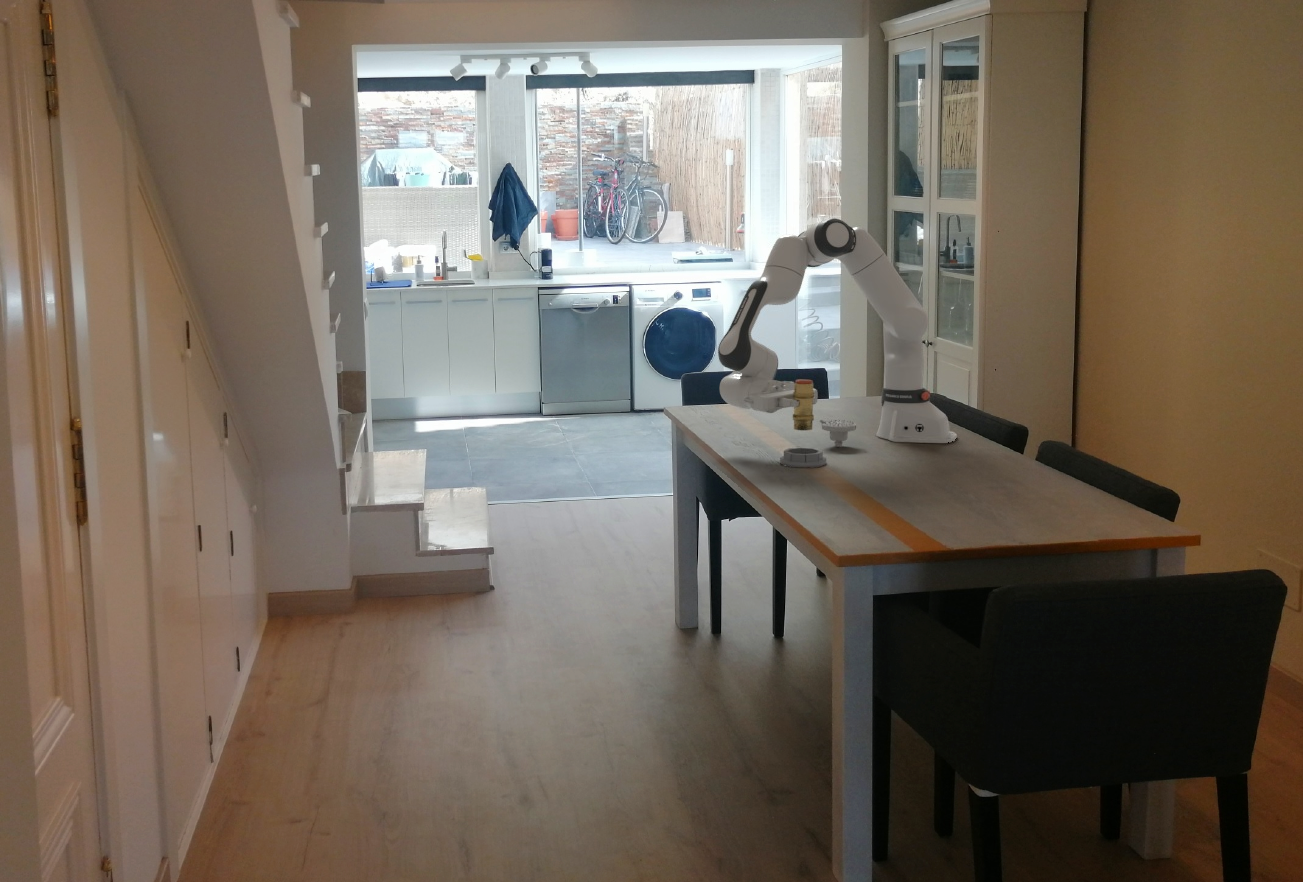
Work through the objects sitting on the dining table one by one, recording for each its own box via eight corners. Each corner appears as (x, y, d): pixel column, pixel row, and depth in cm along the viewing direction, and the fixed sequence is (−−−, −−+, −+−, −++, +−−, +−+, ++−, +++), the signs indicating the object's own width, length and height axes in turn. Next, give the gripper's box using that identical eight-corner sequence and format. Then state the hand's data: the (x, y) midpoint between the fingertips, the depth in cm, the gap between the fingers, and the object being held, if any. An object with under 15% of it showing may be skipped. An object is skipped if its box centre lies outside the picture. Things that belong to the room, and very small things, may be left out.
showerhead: (820, 417, 353) (856, 418, 351) (820, 442, 354) (856, 443, 352) (818, 422, 344) (855, 423, 342) (818, 448, 345) (854, 450, 343)
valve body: (815, 427, 327) (816, 379, 324) (810, 431, 322) (811, 382, 319) (795, 426, 329) (796, 378, 326) (790, 429, 324) (790, 381, 321)
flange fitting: (831, 460, 330) (831, 448, 329) (819, 469, 319) (819, 457, 319) (787, 457, 335) (787, 445, 334) (774, 465, 324) (774, 453, 323)
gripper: (739, 388, 326) (777, 394, 316) (794, 380, 339) (832, 386, 329) (739, 412, 328) (777, 419, 317) (794, 403, 340) (832, 410, 330)
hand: (806, 402), depth 323 cm, fingers closed on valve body, 5 cm apart
